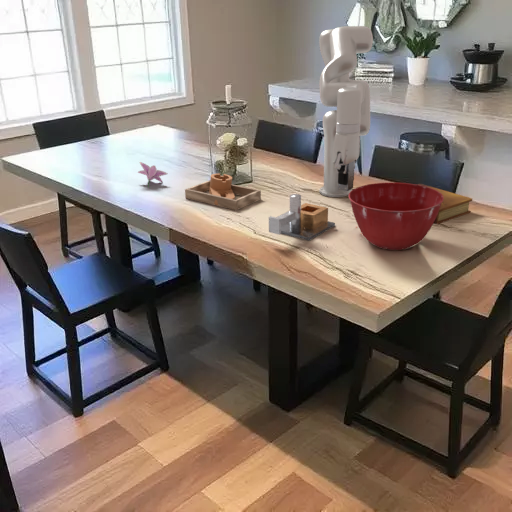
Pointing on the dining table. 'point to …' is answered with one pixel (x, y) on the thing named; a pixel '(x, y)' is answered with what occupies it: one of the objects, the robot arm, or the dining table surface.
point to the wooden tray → (247, 193)
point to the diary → (451, 205)
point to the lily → (151, 172)
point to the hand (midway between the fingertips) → (345, 181)
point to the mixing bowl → (395, 213)
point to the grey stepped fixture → (301, 220)
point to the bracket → (221, 186)
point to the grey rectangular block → (350, 177)
